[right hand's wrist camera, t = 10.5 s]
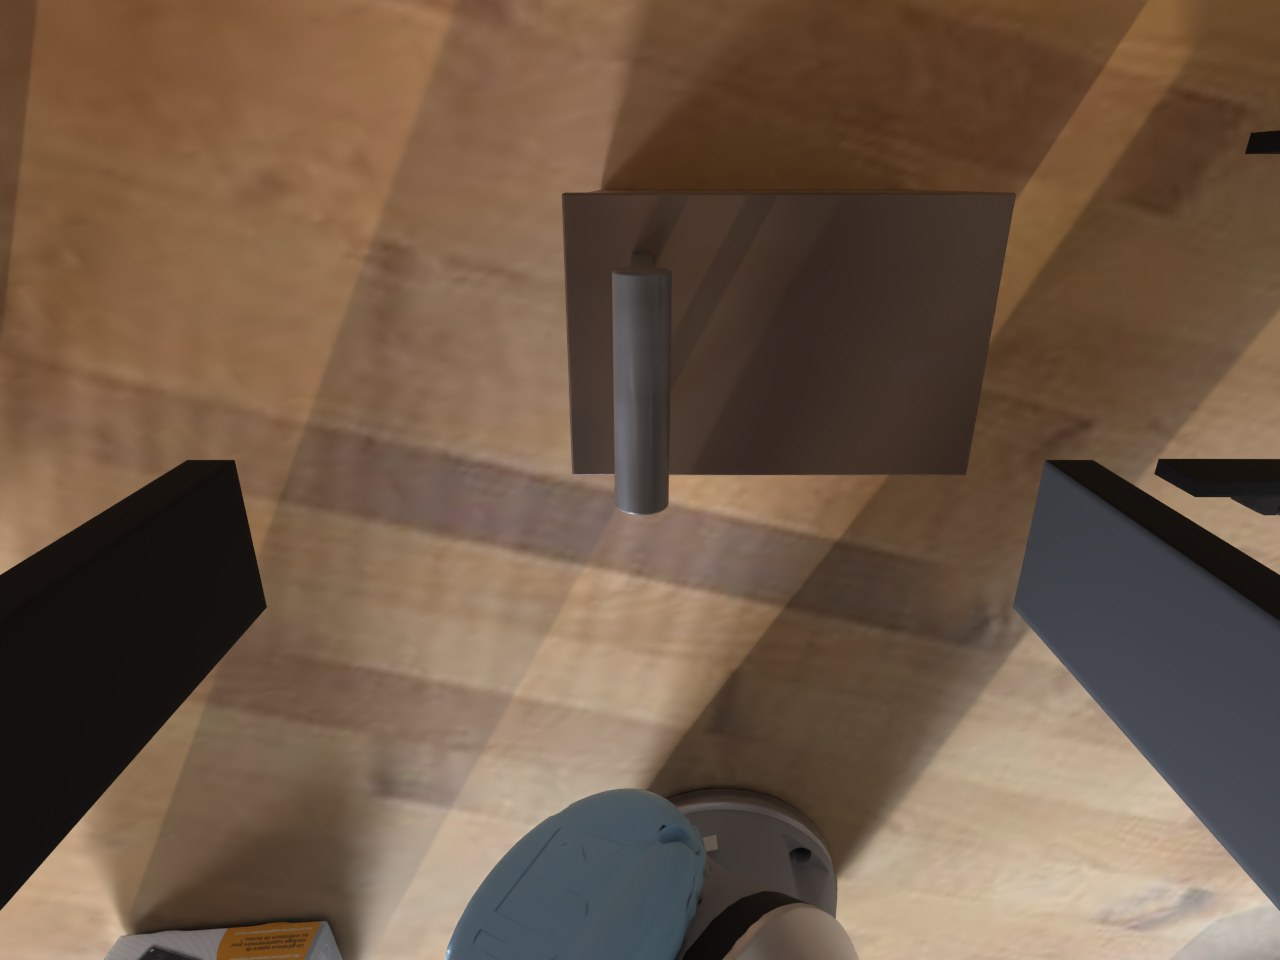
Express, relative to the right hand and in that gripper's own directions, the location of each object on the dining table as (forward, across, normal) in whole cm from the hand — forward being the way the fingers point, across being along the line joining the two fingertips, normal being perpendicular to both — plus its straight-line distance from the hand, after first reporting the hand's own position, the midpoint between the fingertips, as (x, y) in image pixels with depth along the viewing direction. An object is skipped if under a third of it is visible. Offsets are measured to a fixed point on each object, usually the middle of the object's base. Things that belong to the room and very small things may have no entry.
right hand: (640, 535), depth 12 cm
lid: (+16, -5, 0) cm, 17 cm away
